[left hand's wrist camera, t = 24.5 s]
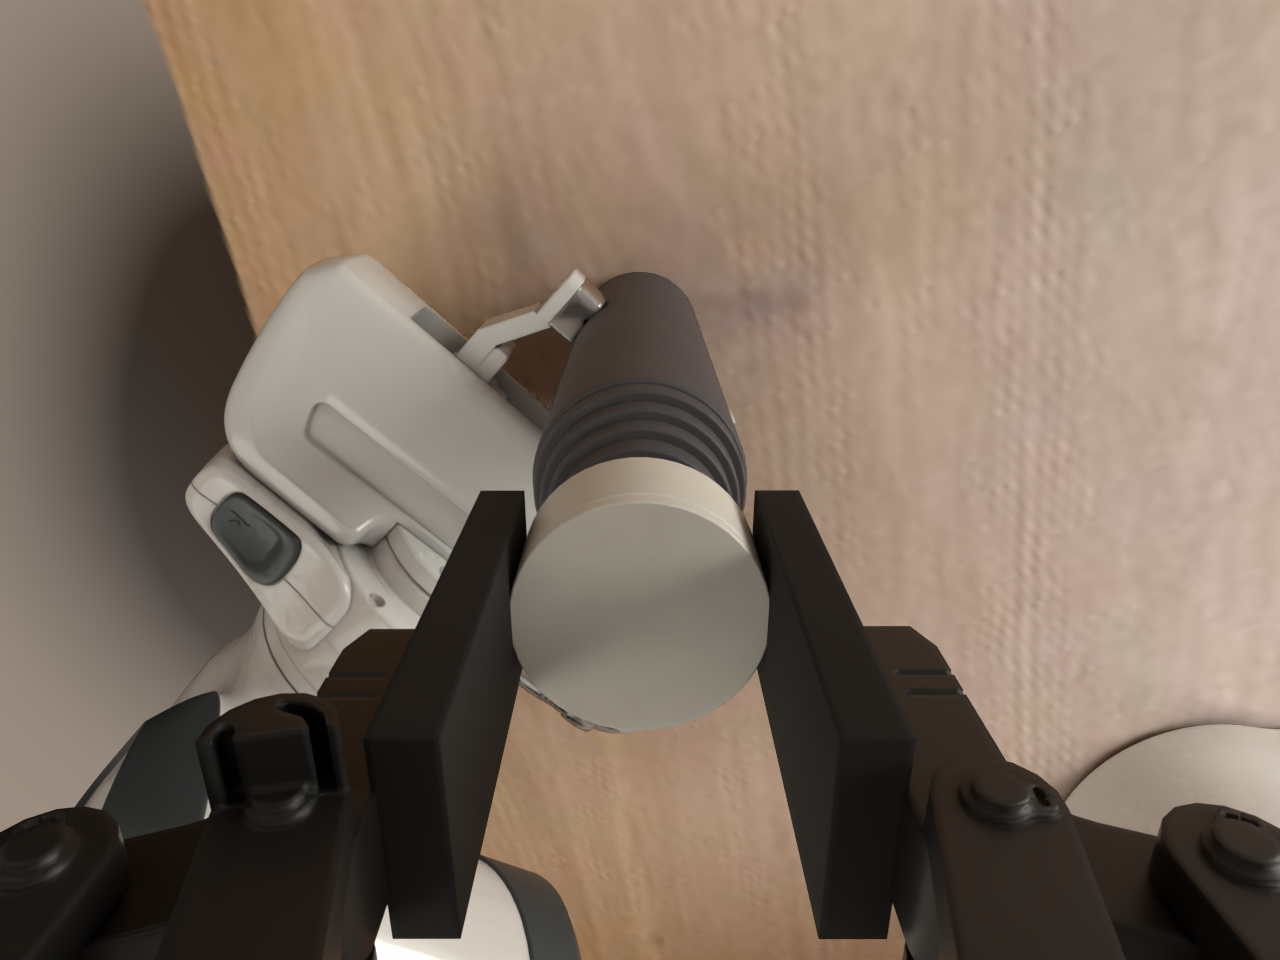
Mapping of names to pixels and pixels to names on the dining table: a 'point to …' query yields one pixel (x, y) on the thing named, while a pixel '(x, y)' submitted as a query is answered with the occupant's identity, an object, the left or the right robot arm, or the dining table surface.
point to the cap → (639, 596)
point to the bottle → (640, 393)
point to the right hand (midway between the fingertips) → (656, 344)
